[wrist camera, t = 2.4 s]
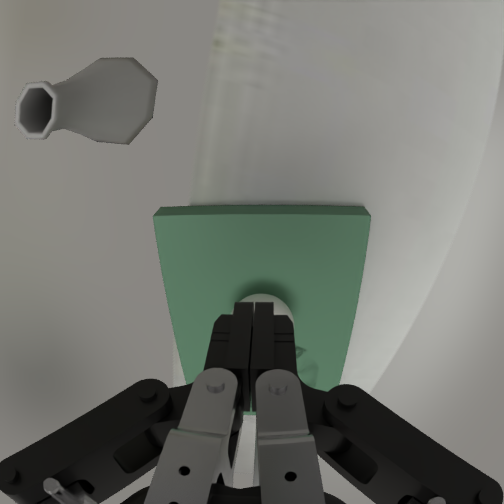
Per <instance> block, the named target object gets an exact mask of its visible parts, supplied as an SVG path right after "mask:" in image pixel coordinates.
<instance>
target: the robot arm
mask: <svg viewBox="0 0 504 504" xmlns="http://www.w3.org/2000/svg"><path fill="white" fill-rule="evenodd" d="M251 400H252V412H256V423H257V424H256V426H257V450H258V472H259V486H254V487H249V488H243V489H236V488H233V474H234V468H235V463H236V457H237V452H238V447H239V441H240V436H241V429H242V427H241V426H242V423H243V413H244V412H250V405H251ZM317 454H318V455H319V456H320V457H321V458H322V459H323V460H325V461H326V462H327V463H328V464H329V465H330V466H331V467H332V468H334V469H335V470H336V471H337V472H338V473H339V474H341V475H342V476H343V477H344V478H345V479H347V480H348V481H349V482H350V483H351V484H352V485H354V486H355V487H356V488H357V489H358V490H360V491H361V492H362V493H363V494H364V495H366V496H367V497H368V498H369V499H371V500H372V501H373V502H374V503H376V504H502V502H503V491H502V488H501V486H500V485H499V483H498V482H496V481H495V480H494V479H492V478H490V477H489V476H487V475H486V474H484V473H483V472H481V471H480V470H478V469H476V468H475V467H473V466H472V465H470V464H469V463H467V462H466V461H464V460H463V459H461V458H460V457H458V456H456V455H455V454H454V453H452V452H451V451H449V450H447V449H446V448H445V447H443V446H442V445H440V444H439V443H437V442H435V441H434V440H433V439H431V438H430V437H428V436H427V435H425V434H424V433H423V432H421V431H420V430H418V429H417V428H415V427H414V426H412V425H411V424H410V423H408V422H407V421H405V420H404V419H402V418H401V417H399V416H398V415H397V414H395V413H394V412H393V411H391V410H390V409H388V408H387V407H386V406H384V405H383V404H381V403H380V402H379V401H377V400H376V399H375V398H373V397H372V396H370V395H369V394H368V393H366V392H365V391H364V390H362V389H361V388H359V387H357V386H354V385H349V384H343V385H338V386H335V387H333V388H331V389H330V390H329V391H328V392H327V391H323V390H318V389H314V388H312V387H309V386H308V385H306V384H305V383H303V382H302V380H301V379H300V378H299V376H298V373H297V362H296V349H295V337H294V325H293V322H292V321H291V319H290V318H289V317H288V315H274V302H255V310H254V302H235V304H234V310H233V314H221V315H220V316H219V317H218V319H217V320H216V321H215V322H214V325H213V329H212V334H211V338H210V343H209V347H208V352H207V356H206V361H205V365H204V369H203V371H202V372H201V373H199V374H198V375H197V377H196V378H195V380H194V382H192V383H190V384H188V385H184V386H179V387H173V388H168V387H167V385H166V384H165V383H163V382H162V381H160V380H157V379H145V380H141V381H139V382H137V383H135V384H133V385H132V386H130V387H129V388H127V389H126V390H124V391H122V392H120V393H119V394H117V395H116V396H114V397H112V398H111V399H109V400H108V401H106V402H104V403H102V404H101V405H99V406H97V407H96V408H94V409H93V410H91V411H89V412H87V413H86V414H84V415H82V416H81V417H79V418H77V419H76V420H74V421H72V422H70V423H69V424H67V425H65V426H64V427H62V428H60V429H58V430H57V431H55V432H53V433H51V434H50V435H48V436H46V437H44V438H43V439H41V440H39V441H37V442H35V443H34V444H32V445H30V446H28V447H26V448H25V449H23V450H21V451H19V452H17V453H15V454H13V455H12V456H10V457H8V458H6V459H4V460H3V461H1V462H0V490H1V491H2V492H4V493H5V494H6V495H7V496H9V497H10V498H12V499H13V500H14V501H15V502H16V503H17V504H99V503H101V502H103V501H104V500H106V499H107V498H109V497H110V496H112V495H114V494H115V493H117V492H118V491H120V490H122V489H123V488H125V487H126V486H128V485H129V484H131V483H132V482H134V481H135V480H136V479H138V478H139V477H141V476H142V475H144V474H145V473H147V472H148V471H150V470H151V469H153V468H154V467H155V466H157V467H156V470H155V473H154V476H153V478H152V481H151V484H150V486H148V487H145V488H143V489H141V490H139V491H138V492H136V493H134V494H133V495H131V496H130V497H129V498H128V499H126V500H125V501H123V502H122V503H120V504H346V503H344V502H343V501H341V500H340V499H338V498H337V497H335V496H333V495H331V494H328V493H326V492H323V486H322V480H321V474H320V468H319V463H318V456H317Z"/></svg>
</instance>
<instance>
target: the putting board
mask: <svg viewBox="0 0 504 504" xmlns="http://www.w3.org/2000/svg"><path fill="white" fill-rule="evenodd" d="M153 221H154V227H155V234H156V240H157V247H158V253H159V259H160V264H161V270H162V276H163V281H164V286H165V291H166V297H167V301H168V307H169V311H170V316H171V321H172V326H173V330H174V335H175V339H176V343H177V348H178V352H179V356H180V360H181V364H182V369H183V372H184V376H185V380H186V384H187V385H188V384H190V383H192V382H194V380H195V378H196V377H197V375H198V374H199V373H201V372H202V371H203V369H204V365H205V361H206V356H207V352H208V347H209V343H210V338H211V334H212V329H213V325H214V322H215V321H216V320H217V319H218V317H219V316H220V315H221V314H231V312H232V310H233V309H234V304H235V302H240V301H241V300H242V299H244V298H246V297H248V296H250V295H253V294H269V295H273V296H275V297H277V298H279V299H280V300H282V301H283V302H284V303H285V304H286V305H287V306H288V308H289V309H290V311H291V313H292V315H293V319H294V337H295V349H296V362H297V373H298V376H299V378H300V379H301V380H302V382H303V383H305V384H306V385H308V386H309V387H312V388H314V389H318V390H323V391H327V392H328V391H329V390H330V389H331V388H333V387H335V386H338V385H339V383H340V379H341V375H342V371H343V367H344V363H345V359H346V355H347V351H348V346H349V342H350V337H351V333H352V328H353V323H354V319H355V314H356V309H357V303H358V298H359V293H360V287H361V281H362V276H363V270H364V263H365V257H366V250H367V243H368V236H369V229H370V221H371V215H370V214H369V212H368V211H367V210H366V209H365V207H360V206H318V205H220V206H178V207H160V209H159V210H158V211H157V212H156V213H155V214H154V215H153ZM243 415H256V412H252V400H251V405H250V412H244V413H243ZM256 424H257V423H256ZM254 486H259V472H258V450H257V426H256V440H255V458H254V477H253V487H254Z"/></svg>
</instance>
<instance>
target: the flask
mask: <svg viewBox="0 0 504 504" xmlns="http://www.w3.org/2000/svg"><path fill="white" fill-rule="evenodd" d="M157 83H158V80H157V79H156V78H155V77H154V76H153V75H151V73H150V72H148V71H147V70H146V69H145V68H144V67H143V66H142V65H141V64H140V63H138V61H137V60H135V59H134V58H100V59H98V60H97V61H95V62H94V63H92V64H91V65H89V66H88V67H86V68H85V69H83V70H82V71H80V72H79V73H77V74H75V75H74V76H72V77H71V78H69V79H67V80H66V81H63V82H60V83H57V84H54V85H51V84H50V83H49V82H47V81H41V82H31V83H26V85H25V87H24V89H23V90H22V92H21V94H20V96H19V97H18V99H17V101H16V106H15V126H16V127H17V129H18V130H19V131H20V132H21V133H22V134H23V135H24V137H25V138H26V139H46V138H47V137H48V136H49V135H50V133H51V132H52V131H55V130H60V129H67V130H69V131H73V132H75V133H78V134H81V135H83V136H85V137H87V138H90V139H92V140H94V141H97V142H106V143H117V144H128V145H129V144H130V143H131V142H132V140H133V139H134V138H135V137H136V136H137V135H138V133H139V132H140V131H141V130H142V129H143V128H144V126H145V125H146V124H147V123H148V122H149V121H150V120H151V119H152V118H153V111H154V103H155V96H156V89H157Z"/></svg>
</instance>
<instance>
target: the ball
mask: <svg viewBox="0 0 504 504" xmlns="http://www.w3.org/2000/svg"><path fill="white" fill-rule="evenodd" d="M240 302H254V310H255V302H274V315H288V317H289V318H290V319H291V321H292V322H293V325H294V319H293V315H292V313H291V311H290V309H289V308H288V306H287V305H286V304H285V303H284V302H283V301H282V300H280V299H279V298H277V297H275V296H273V295H269V294H253V295H250V296H248V297H246V298H244V299H242V300H241V301H240ZM233 310H234V309H233ZM233 310H232V312H231V314H233Z"/></svg>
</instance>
